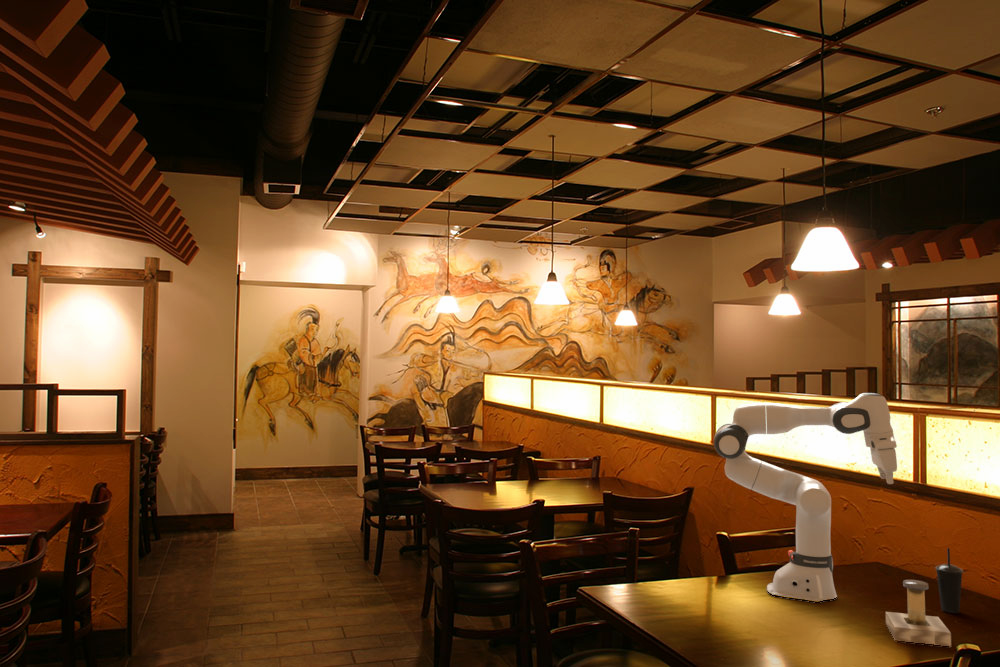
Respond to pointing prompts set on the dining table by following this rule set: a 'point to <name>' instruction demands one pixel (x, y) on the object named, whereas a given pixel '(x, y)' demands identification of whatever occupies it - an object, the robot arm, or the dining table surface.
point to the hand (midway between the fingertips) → (887, 481)
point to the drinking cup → (949, 585)
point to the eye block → (918, 630)
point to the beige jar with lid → (916, 601)
